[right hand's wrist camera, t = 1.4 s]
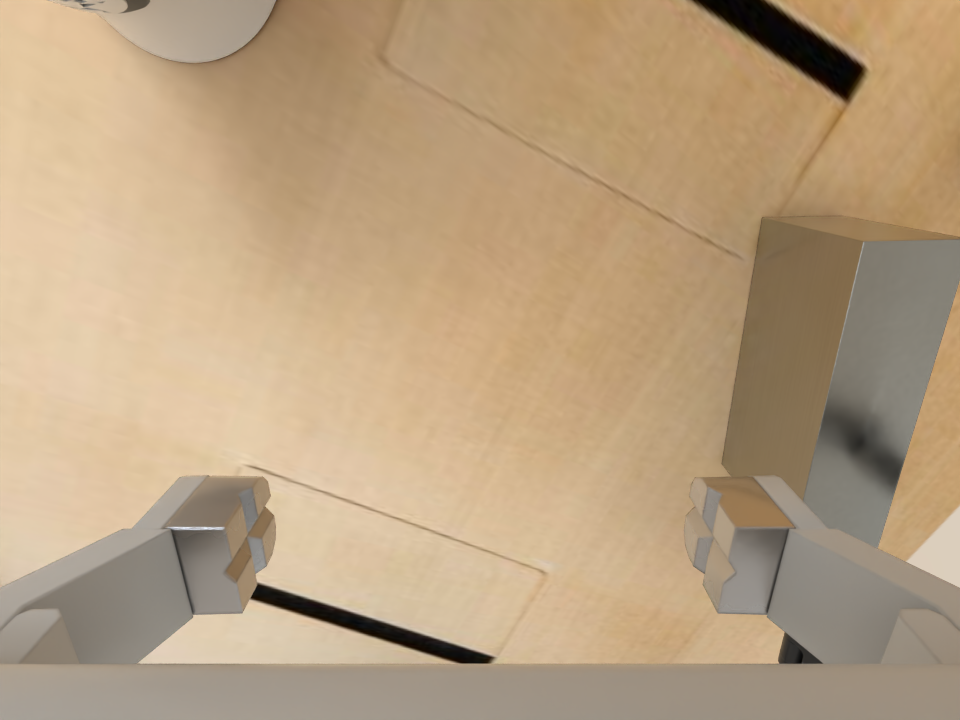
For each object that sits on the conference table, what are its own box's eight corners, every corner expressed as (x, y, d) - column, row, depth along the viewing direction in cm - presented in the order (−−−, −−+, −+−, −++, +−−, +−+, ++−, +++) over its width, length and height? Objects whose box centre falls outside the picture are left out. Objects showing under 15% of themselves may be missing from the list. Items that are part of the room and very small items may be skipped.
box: (761, 217, 42) (863, 241, 31) (841, 215, 42) (972, 238, 31) (721, 464, 51) (790, 553, 39) (788, 462, 51) (876, 551, 39)
